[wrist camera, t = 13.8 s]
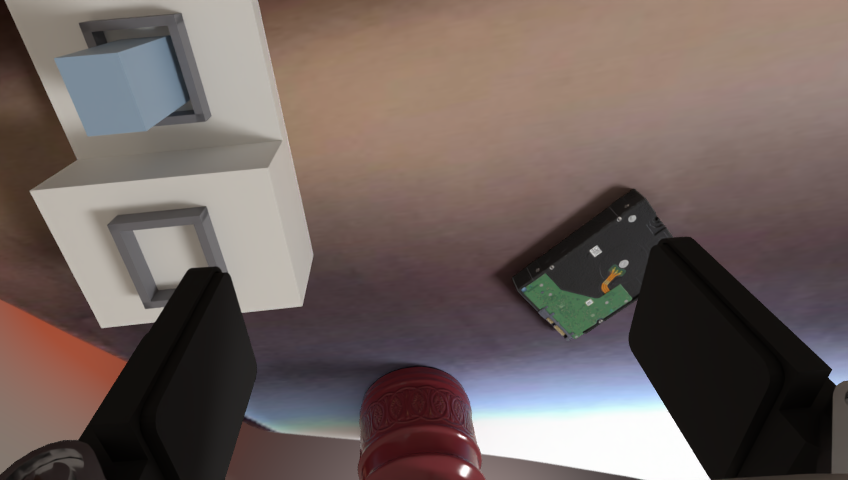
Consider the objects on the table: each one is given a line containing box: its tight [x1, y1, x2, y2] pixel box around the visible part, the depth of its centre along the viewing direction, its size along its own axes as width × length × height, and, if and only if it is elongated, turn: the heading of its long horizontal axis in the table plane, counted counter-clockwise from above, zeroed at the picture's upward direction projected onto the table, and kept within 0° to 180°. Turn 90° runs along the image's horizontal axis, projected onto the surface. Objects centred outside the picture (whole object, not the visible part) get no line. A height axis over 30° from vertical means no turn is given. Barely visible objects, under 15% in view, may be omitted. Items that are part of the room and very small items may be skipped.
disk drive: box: [512, 189, 673, 341], centre depth 49 cm, size 10×3×15 cm
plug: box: [54, 35, 190, 137], centre depth 31 cm, size 4×4×8 cm
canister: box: [358, 367, 486, 480], centre depth 50 cm, size 13×13×18 cm
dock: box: [5, 0, 313, 328], centre depth 35 cm, size 24×16×10 cm, turn 4°
